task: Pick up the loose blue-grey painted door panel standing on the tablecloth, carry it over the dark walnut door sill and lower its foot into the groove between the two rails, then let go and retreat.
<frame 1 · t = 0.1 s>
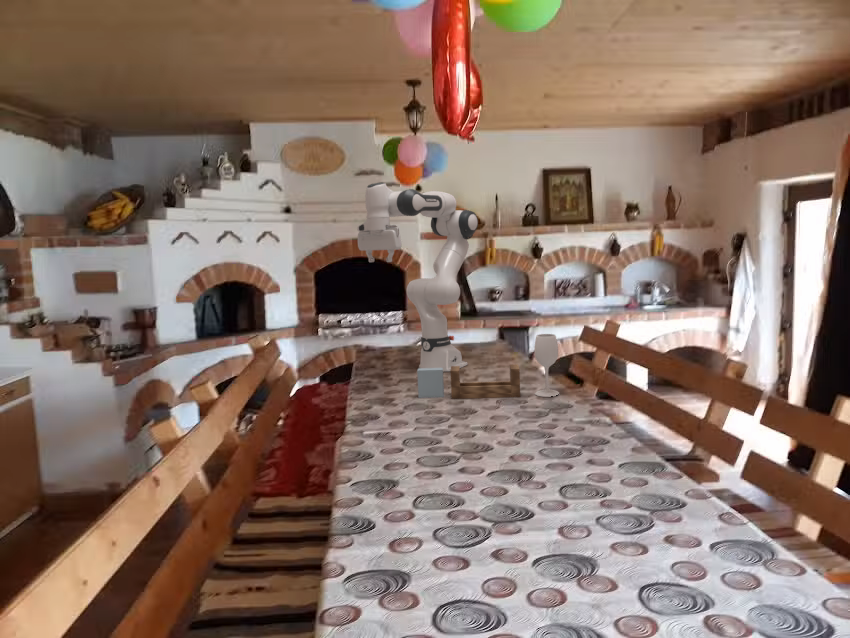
hand: (380, 262, 252), 48 cm above the table, fingers open, 8 cm apart
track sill: (485, 395, 233), on the table
door panel: (431, 396, 235), on the table
wineglass: (547, 394, 231), on the table
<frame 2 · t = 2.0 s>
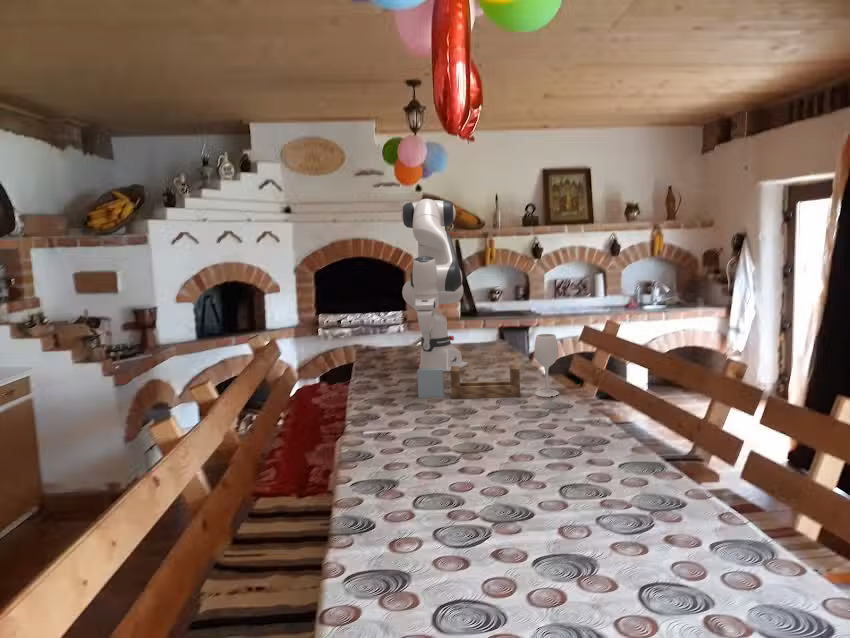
hand: (428, 341, 233), 20 cm above the table, fingers open, 8 cm apart
nothing on the table moved.
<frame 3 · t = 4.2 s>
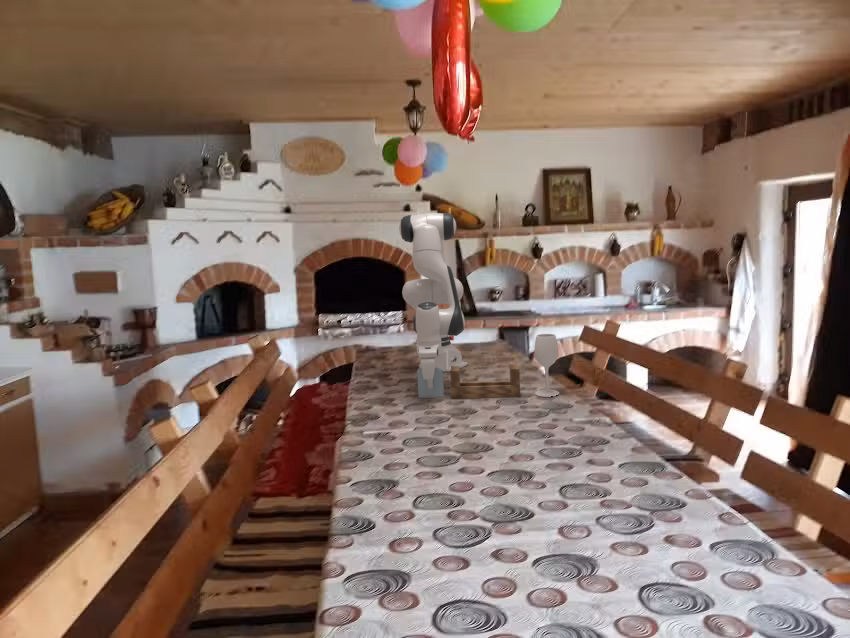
hand: (430, 386, 235), 4 cm above the table, fingers closed on door panel, 3 cm apart
door panel: (431, 396, 235), on the table, touching gripper
everything else where it was.
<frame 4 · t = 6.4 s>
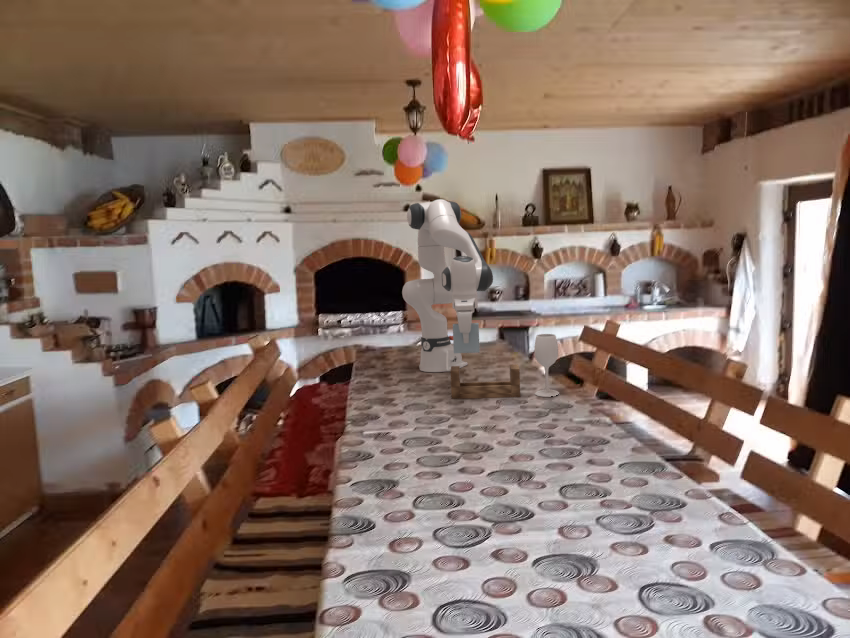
hand: (466, 341, 231), 19 cm above the table, fingers closed on door panel, 3 cm apart
door panel: (466, 352, 231), point 16 cm above the table, touching gripper
everything else where it was.
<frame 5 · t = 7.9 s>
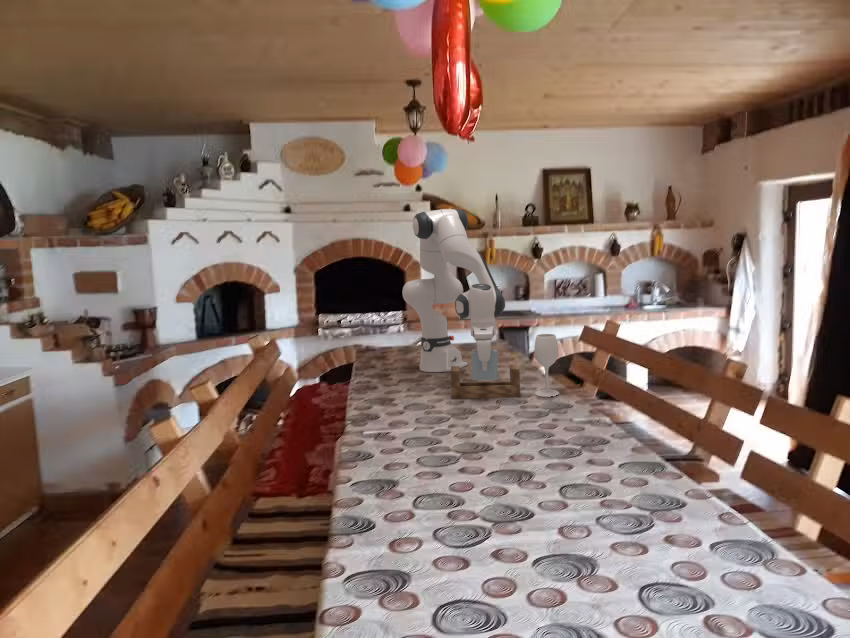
hand: (484, 368, 232), 10 cm above the table, fingers closed on door panel, 3 cm apart
door panel: (484, 378, 232), point 6 cm above the table, touching gripper
everything else where it was.
when the fingers open (6 cm above the table, at t = 8.8 s): door panel stays where it is, resting on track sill.
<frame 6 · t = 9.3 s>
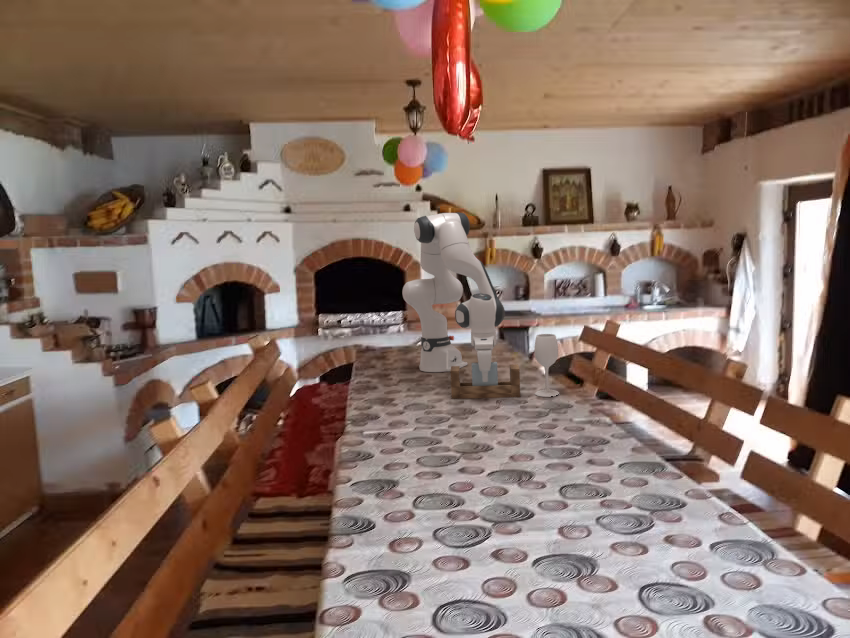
hand: (485, 378, 232), 6 cm above the table, fingers open, 8 cm apart
door panel: (485, 390, 233), point 1 cm above the table, touching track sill
everything else where it was.
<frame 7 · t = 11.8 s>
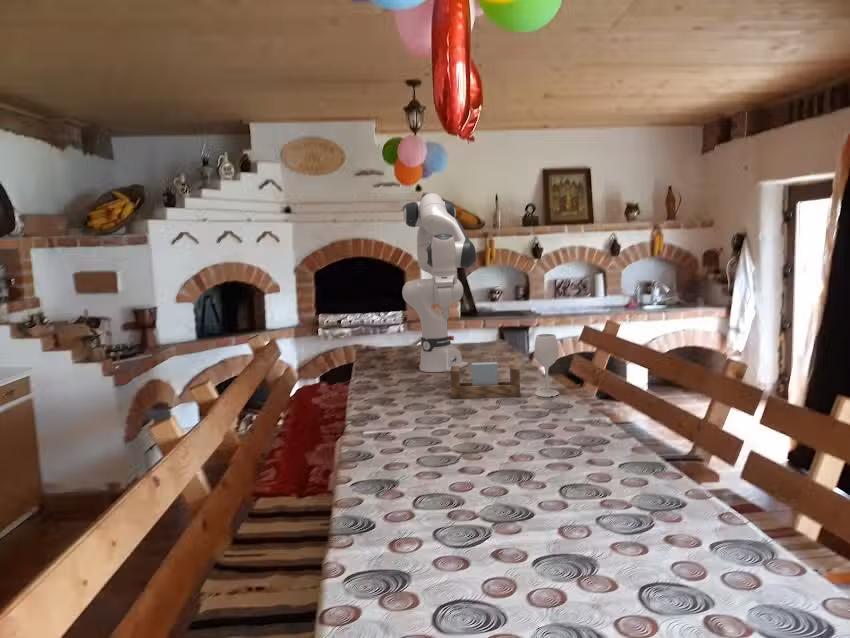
hand: (446, 317, 238), 28 cm above the table, fingers open, 8 cm apart
nothing on the table moved.
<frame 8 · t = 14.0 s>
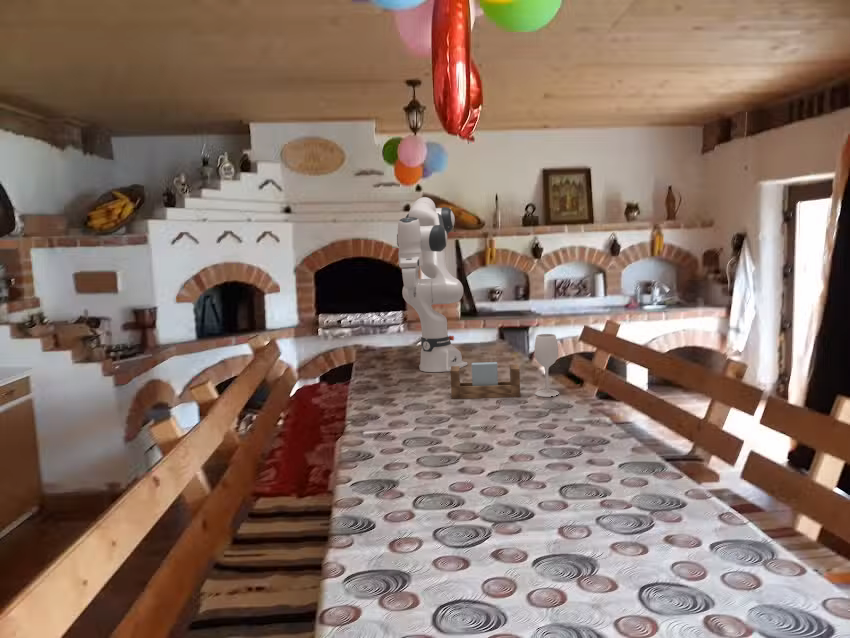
hand: (412, 298, 244), 34 cm above the table, fingers open, 8 cm apart
nothing on the table moved.
at the end: door panel 0.1 cm from the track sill (horizontally); door panel point 1.5 cm above the table; door panel tilted 0° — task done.
